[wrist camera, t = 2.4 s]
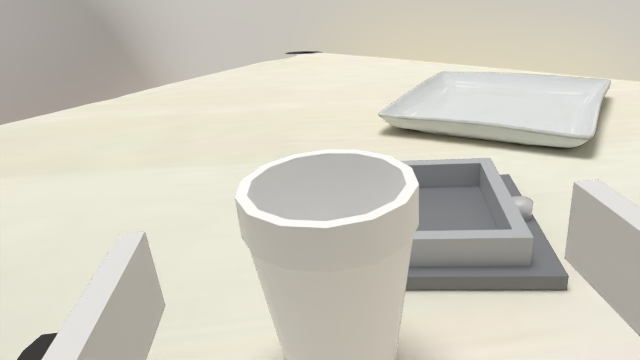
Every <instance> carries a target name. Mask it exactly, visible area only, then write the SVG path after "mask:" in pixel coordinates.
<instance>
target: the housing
mask: <svg viewBox="0 0 640 360" xmlns="http://www.w3.org/2000/svg"><path fill="white" fill-rule="evenodd" d="M401 162H402V163H404V164H406V165H408V166H410V167H412V169H413V172H414V174H415V176H416V179H417V181H418V183H419V226H418V228H417V229H416V231H415V233H414V235H413V242H412V249H411V255H410V262H409V269H408V276H407V283H406V289H405V290H567V284H568V277H569V276H568V274H567V273H566V271H565V269H564V267H563V266H562V264H561V262H560V261H559V259H558V257H557V255H556V254H555V252H554V250H553V249H552V247H551V245H550V244H549V242H548V240H547V238H546V237H545V235H544V233H543V232H542V230H541V228H540V226H539V225H538V223H537V221H536V220H535V218H534V216H533V215H532V207H533V201H532V200H531V199H530V198H527V197H523V196H521V194H520V192H519V191H518V189H517V187H516V186H515V184H514V182H513V180H512V179H511V177H510V175H509V174H507V175H499V173H498V171H497V169H496V167H495V166H494V164H493V162H492V160H491V158H475V159H446V160H417V161H401Z"/></svg>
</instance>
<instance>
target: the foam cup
mask: <svg viewBox="0 0 640 360" xmlns="http://www.w3.org/2000/svg"><path fill="white" fill-rule="evenodd" d="M235 202H236V207H237V213H238V219H239V225H240V230H241V236H242V239H243V240H244V242H245V243H246V245H247V246H248V248H249V249H250V252H251V255H252V258H253V261H254V264H255V268H256V271H257V274H258V277H259V280H260V283H261V286H262V289H263V292H264V295H265V298H266V301H267V304H268V307H269V311H270V314H271V317H272V320H273V323H274V326H275V329H276V332H277V335H278V338H279V341H280V344H281V347H282V350H283V353H284V357H285V360H395V357H396V351H397V344H398V337H399V330H400V323H401V317H402V310H403V303H404V296H405V289H406V283H407V276H408V269H409V262H410V255H411V249H412V242H413V235H414V233H415V231H416V229H417V228H418V226H419V183H418V181H417V179H416V176H415V174H414V172H413V169H412V167H410V166H408V165H406V164H404V163H402V162H401V161H399V160H397V159H395V158H393V157H391V156H388V155H383V154H378V153H373V152H368V151H363V150H320V151H314V152H307V153H301V154H295V155H290V156H287V157H284V158H282V159H279V160H276V161H273V162H270V163H267V164H265V165H262V166H260V167H259V168H258V169H256V170H255V171H253V172H252V173H251V174H249V175H248V176H246V177H245V178H244V179H242V180H241V182H240V185H239V188H238V190H237V193H236V196H235Z"/></svg>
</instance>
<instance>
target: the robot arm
mask: <svg viewBox="0 0 640 360" xmlns="http://www.w3.org/2000/svg"><path fill="white" fill-rule="evenodd" d="M565 259H566V260H567V261H568V262H569V263H570V264H571V265H572V266H573V268H574V269H575V270H576V271H577V272H578V273H579V274H580V275H581V276H582V277H583V278H584V279H585V280H586V281H587V282H588V283H589V284H590V285H591V286H592V287H593V288H594V289H595V290H596V291H597V292H598V293H599V295H600V296H601V297H602V298H603V299H604V300H605V301H606V302H607V303H608V304H609V305H610V306H611V307H612V308H613V309H614V310H615V311H616V312H617V313H618V314H619V315H620V316H621V317H622V318H623V319H624V320H625V322H626V323H627V324H628V325H629V326H630V327H631V328H632V329H633V330H634V331H635V332H636V333H637V334H638V335H639V336H640V207H639V206H638V205H636V204H635V203H633V202H632V201H630V200H629V199H627V198H626V197H624V196H623V195H621V194H620V193H618V192H617V191H615V190H614V189H612V188H611V187H609V186H608V185H607V184H605V183H604V182H602V181H601V180H599V179H595V180H587V181H578V182H574V186H573V194H572V202H571V210H570V218H569V226H568V235H567V243H566V251H565ZM164 308H165V303H164V299H163V295H162V292H161V288H160V284H159V281H158V277H157V273H156V270H155V266H154V262H153V259H152V255H151V251H150V248H149V244H148V240H147V237H146V233H145V231H144V232H135V233H127V234H119V236H118V238H117V239H116V241H115V242H114V244H113V246H112V247H111V249H110V250H109V252H108V254H107V255H106V257H105V258H104V260H103V262H102V263H101V265H100V266H99V268H98V270H97V271H96V273H95V274H94V276H93V278H92V279H91V281H90V282H89V284H88V286H87V287H86V289H85V291H84V292H83V294H82V295H81V297H80V299H79V300H78V302H77V303H76V305H75V307H74V308H73V310H72V311H71V313H70V315H69V316H68V318H67V319H66V321H65V323H64V324H63V326H62V327H61V329H60V331H59V332H58V333H52V334H44V335H41V336H40V337H39V338H38V339H36V340H35V341H34V342H33V343H32V344H31V345H29V346H28V347H27V348H26V349H25V350H24V351H23V352H22V353H21V355H20V356H19V358H18V359H17V360H146V359H147V356H148V353H149V350H150V347H151V345H152V342H153V339H154V336H155V333H156V330H157V328H158V325H159V322H160V319H161V316H162V314H163V311H164Z"/></svg>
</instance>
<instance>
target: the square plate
mask: <svg viewBox="0 0 640 360" xmlns="http://www.w3.org/2000/svg"><path fill="white" fill-rule="evenodd" d="M610 84H611V81H610V80H608V79H596V78H582V77H570V76H557V75H543V74H525V73H499V72H447V71H443V72H439V73H437V74H436V75H434V76H432V77H431V78H429V79H427V80H426V81H424V82H422V83H421V84H419V85H418V86H416V87H415V88H413V89H412V90H410V91H409V92H407V93H406V94H404V95H403V96H401V97H400V98H399V99H397V100H396V101H394V102H393V103H391V104H390V105H389V106H387V107H386V108H384V109H383V110H382V111H381V112H379V113H378V115H379V116H380V117H381V118H383V119H384V120H385V121H386V122H387V123H389V124H391V125H393V126H395V127H399V128H405V129H413V130H419V131H421V132H425V133H431V134H440V135H449V136H457V137H466V138H475V139H484V140H493V141H501V142H509V143H518V144H527V145H541V146H551V147H564V148H571V147H577V146H580V145H582V144H584V143H585V142H587V141H588V140H590V139H592V138H593V136H594V134H595V131H596V127H597V123H598V117H599V112H600V108H601V104H602V101H603V99H604V96H605V94H606V93H607V91H608V89H609V87H610Z"/></svg>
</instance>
